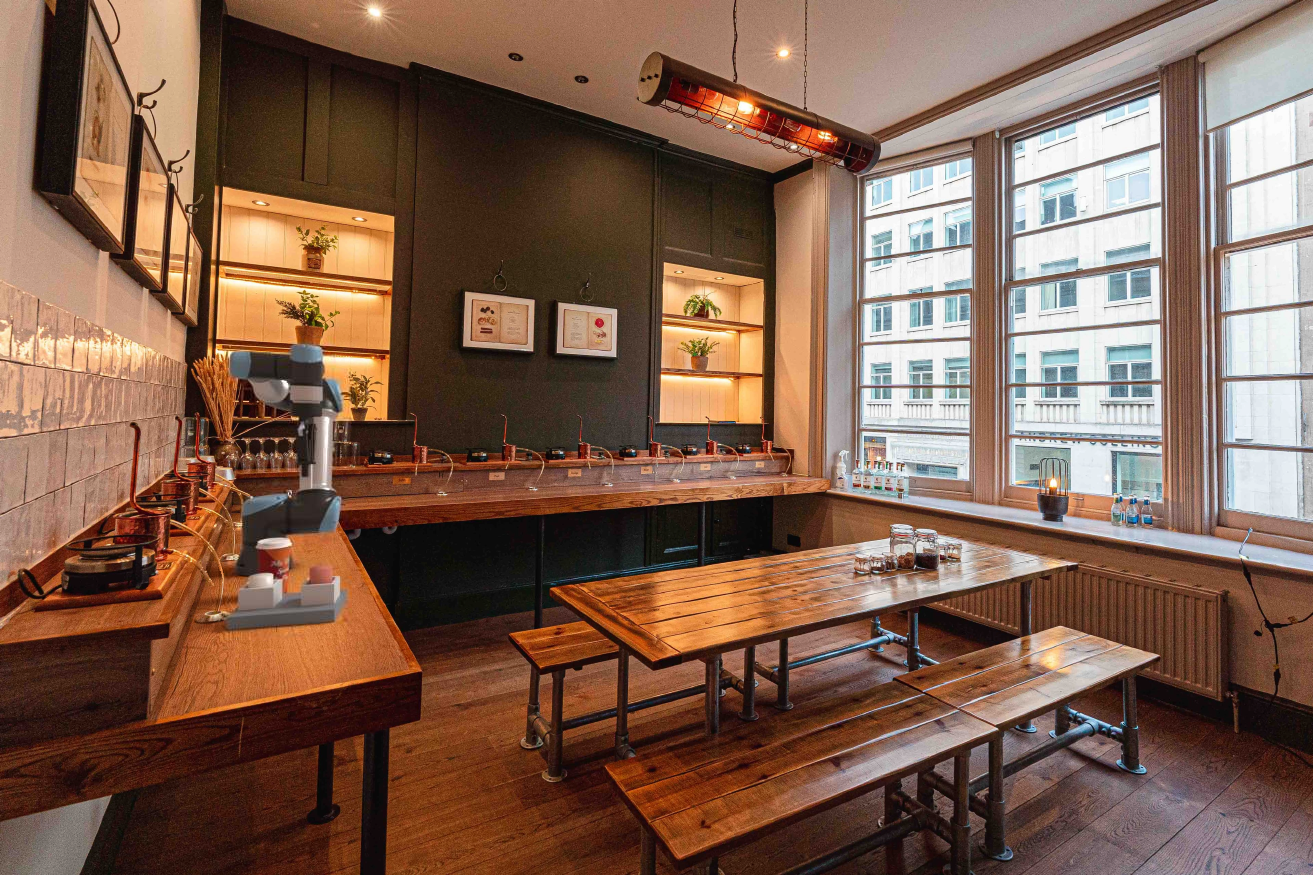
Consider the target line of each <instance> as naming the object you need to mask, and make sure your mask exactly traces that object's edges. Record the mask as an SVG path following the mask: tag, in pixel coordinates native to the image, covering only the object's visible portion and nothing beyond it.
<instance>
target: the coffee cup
mask: <svg viewBox="0 0 1313 875" xmlns="http://www.w3.org/2000/svg"><path fill="white" fill-rule="evenodd" d="M292 544H293V543H292V542H291V540H290V538H288V537H287V538H270V539H264V540H260V541H258V544H257V546H256V548H257V553H258V568H259V574H260V573H272V574H273V580H277V579H282V594H285V593H288V592H287V591H288V584H289V583H288V582H289V571H290V569H289V558H290V553H291V546H292Z"/></svg>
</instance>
